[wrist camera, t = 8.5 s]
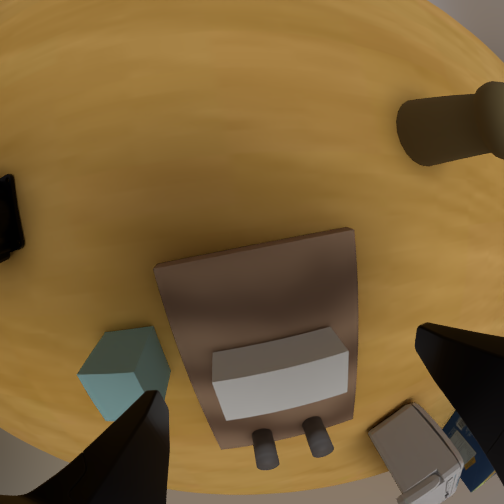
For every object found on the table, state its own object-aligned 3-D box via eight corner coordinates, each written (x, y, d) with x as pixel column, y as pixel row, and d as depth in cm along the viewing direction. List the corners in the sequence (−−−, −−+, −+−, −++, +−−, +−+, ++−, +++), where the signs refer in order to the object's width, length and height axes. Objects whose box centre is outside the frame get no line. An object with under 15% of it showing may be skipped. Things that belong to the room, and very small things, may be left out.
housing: (212, 352, 19) (212, 382, 16) (330, 326, 20) (348, 350, 16) (224, 390, 20) (226, 420, 17) (331, 366, 21) (347, 392, 17)
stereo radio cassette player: (425, 444, 31) (475, 514, 11) (387, 470, 31) (428, 545, 12) (413, 392, 25) (499, 498, 6) (357, 430, 26) (423, 553, 6)
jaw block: (105, 332, 19) (76, 374, 14) (153, 325, 20) (133, 372, 14) (125, 374, 20) (106, 420, 15) (170, 370, 21) (160, 421, 15)
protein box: (500, 366, 29) (549, 406, 14) (462, 427, 32) (499, 470, 17) (474, 376, 28) (531, 428, 13) (431, 442, 31) (470, 494, 16)
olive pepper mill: (436, 102, 18) (527, 82, 7) (448, 165, 19) (544, 169, 9) (389, 97, 17) (488, 60, 7) (403, 168, 19) (514, 169, 8)
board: (156, 263, 19) (136, 290, 14) (346, 226, 19) (384, 240, 14) (220, 441, 23) (222, 479, 18) (348, 411, 24) (366, 444, 19)
